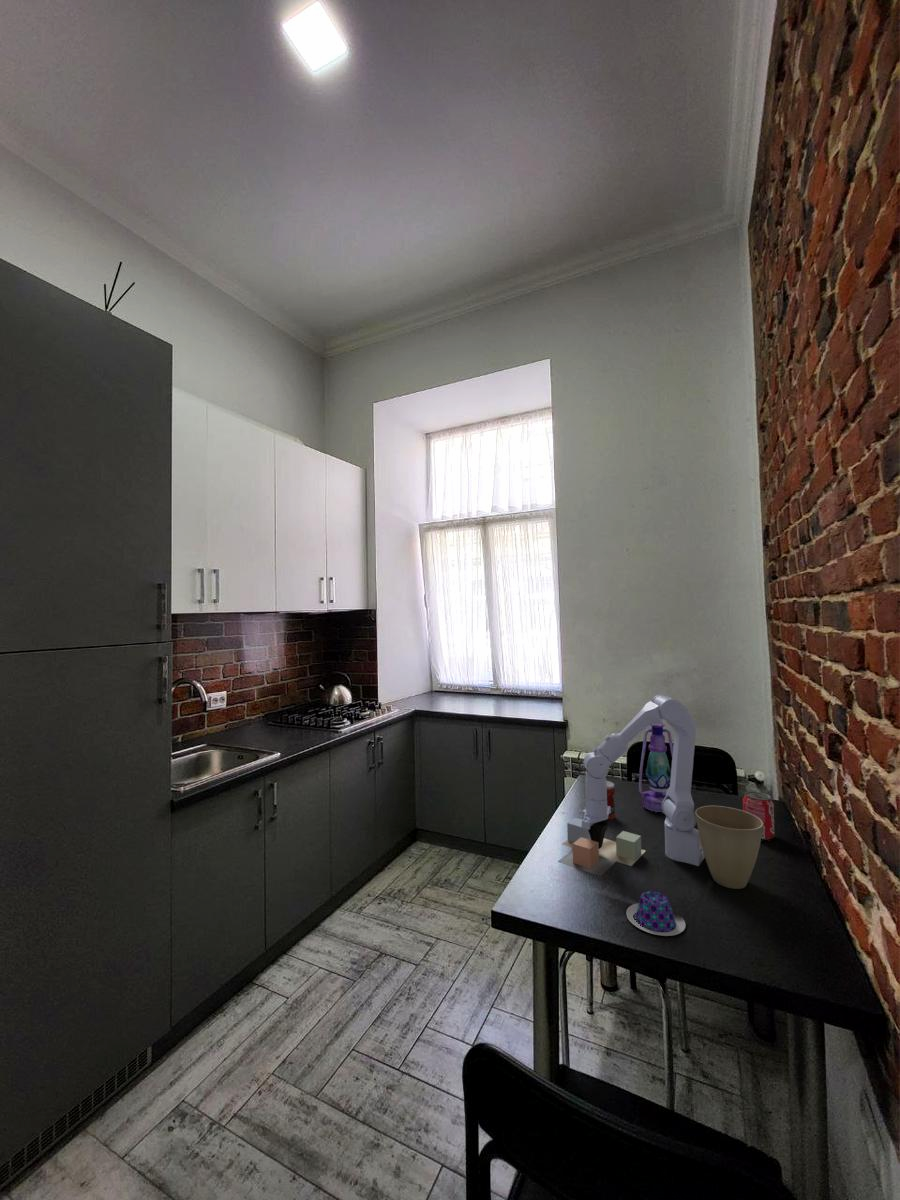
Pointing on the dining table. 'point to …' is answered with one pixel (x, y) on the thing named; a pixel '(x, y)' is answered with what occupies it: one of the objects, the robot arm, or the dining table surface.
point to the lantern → (656, 768)
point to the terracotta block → (585, 852)
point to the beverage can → (761, 811)
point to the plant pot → (729, 843)
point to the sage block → (628, 845)
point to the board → (605, 858)
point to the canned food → (611, 799)
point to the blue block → (576, 830)
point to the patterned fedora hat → (655, 915)
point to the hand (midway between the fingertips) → (597, 846)
